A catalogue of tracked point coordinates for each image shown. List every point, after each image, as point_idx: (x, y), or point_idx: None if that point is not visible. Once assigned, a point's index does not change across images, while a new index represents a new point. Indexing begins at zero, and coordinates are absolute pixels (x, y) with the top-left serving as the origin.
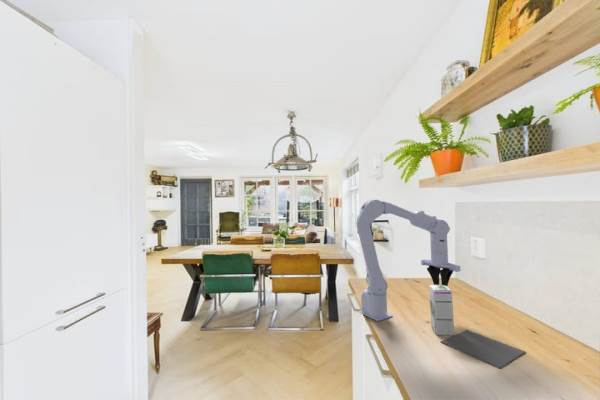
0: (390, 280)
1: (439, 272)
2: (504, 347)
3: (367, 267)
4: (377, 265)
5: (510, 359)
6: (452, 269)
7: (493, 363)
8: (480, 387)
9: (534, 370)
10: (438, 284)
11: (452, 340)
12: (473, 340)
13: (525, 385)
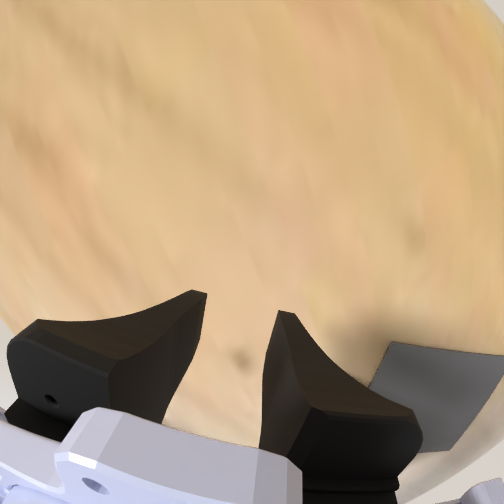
0: None
1: (155, 349)
2: (478, 375)
3: None
4: None
5: (475, 415)
6: None
7: (441, 448)
8: (410, 494)
9: (500, 410)
10: (202, 308)
11: None
12: (413, 398)
13: (471, 455)
